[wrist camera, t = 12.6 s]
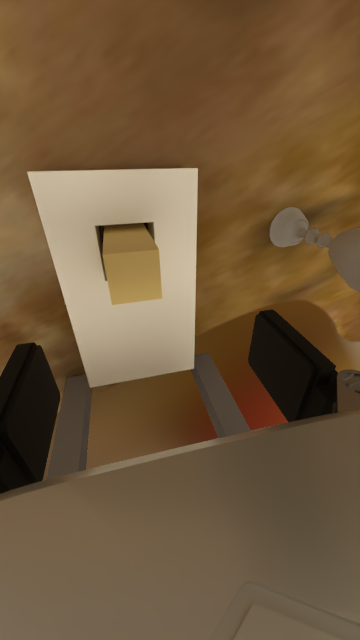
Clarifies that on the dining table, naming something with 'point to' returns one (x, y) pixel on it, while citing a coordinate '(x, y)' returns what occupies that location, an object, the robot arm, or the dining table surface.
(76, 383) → the c-shaped stand
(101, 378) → the socket block
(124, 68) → the dining table surface
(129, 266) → the peg
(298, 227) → the chalice
